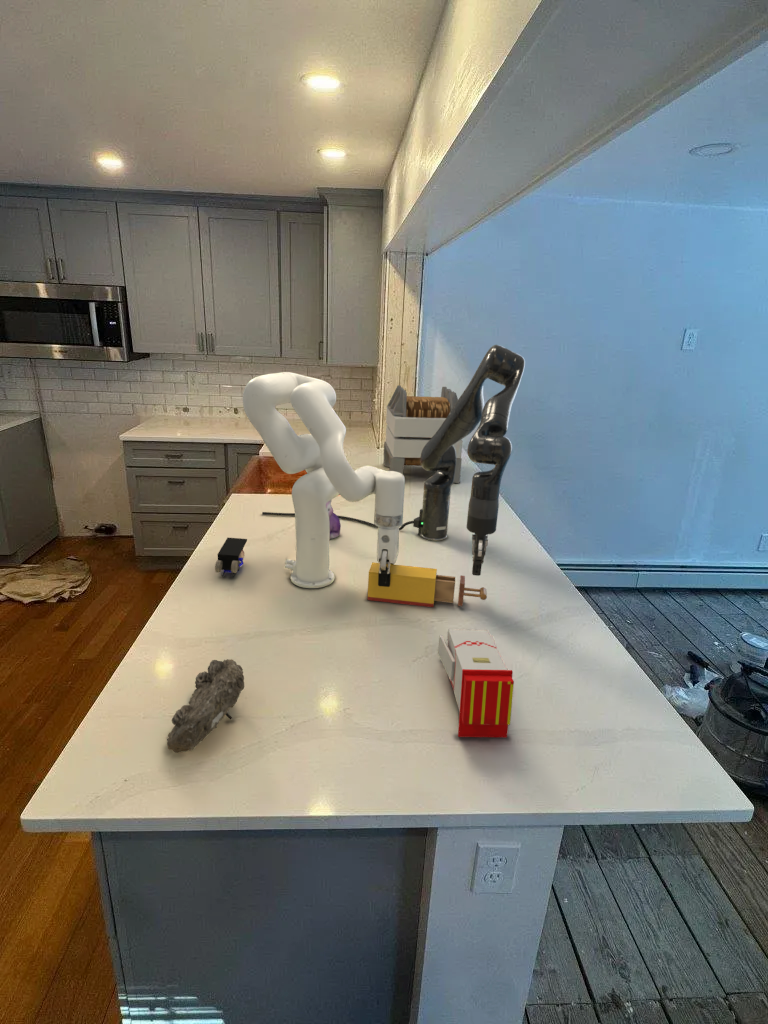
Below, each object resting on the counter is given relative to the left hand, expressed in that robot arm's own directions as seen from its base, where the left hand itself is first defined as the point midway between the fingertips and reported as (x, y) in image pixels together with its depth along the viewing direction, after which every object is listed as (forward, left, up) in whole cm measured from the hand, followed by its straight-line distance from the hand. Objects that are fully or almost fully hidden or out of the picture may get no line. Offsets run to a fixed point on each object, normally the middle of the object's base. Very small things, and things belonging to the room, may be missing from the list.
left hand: (385, 579), depth 154 cm
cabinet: (+4, +1, -5) cm, 7 cm away
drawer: (+15, +3, -4) cm, 16 cm away
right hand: (+23, +5, +4) cm, 24 cm away
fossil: (-13, -59, -5) cm, 61 cm away
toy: (+31, -31, -5) cm, 44 cm away
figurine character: (-47, -4, -5) cm, 47 cm away
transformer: (-29, +124, -5) cm, 127 cm away
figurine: (-33, +33, -5) cm, 47 cm away
